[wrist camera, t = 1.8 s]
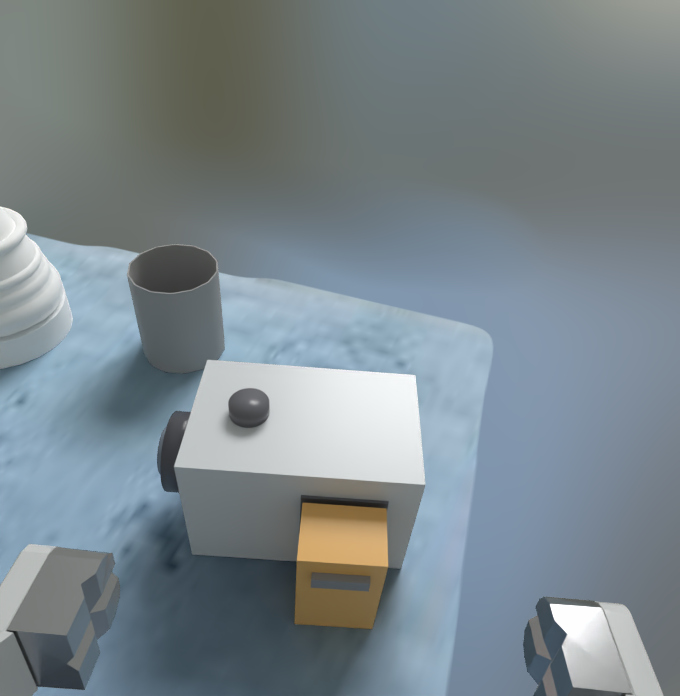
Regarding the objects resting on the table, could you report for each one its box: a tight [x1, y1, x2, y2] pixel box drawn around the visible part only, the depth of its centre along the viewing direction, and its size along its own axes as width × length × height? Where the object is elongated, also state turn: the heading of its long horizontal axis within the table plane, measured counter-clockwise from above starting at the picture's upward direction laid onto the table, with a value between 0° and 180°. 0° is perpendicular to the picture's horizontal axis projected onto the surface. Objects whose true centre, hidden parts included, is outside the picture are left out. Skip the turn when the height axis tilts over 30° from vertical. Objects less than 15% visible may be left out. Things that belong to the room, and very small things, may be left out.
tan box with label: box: [295, 503, 388, 629], centre depth 38 cm, size 4×6×9 cm
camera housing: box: [157, 360, 425, 569], centre depth 43 cm, size 10×19×12 cm, turn 88°
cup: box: [127, 244, 225, 374], centre depth 57 cm, size 8×8×10 cm
